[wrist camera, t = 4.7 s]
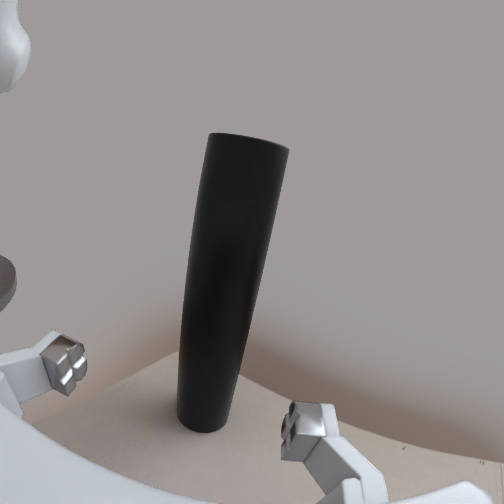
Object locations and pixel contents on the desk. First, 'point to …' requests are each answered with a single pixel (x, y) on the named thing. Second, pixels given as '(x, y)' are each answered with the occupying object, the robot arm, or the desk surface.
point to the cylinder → (225, 271)
